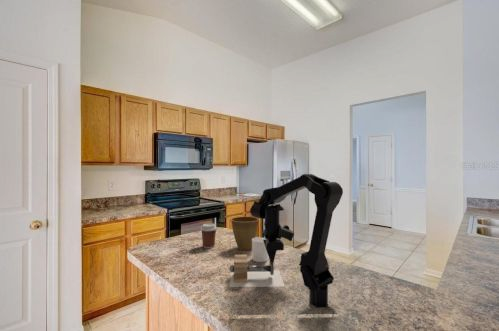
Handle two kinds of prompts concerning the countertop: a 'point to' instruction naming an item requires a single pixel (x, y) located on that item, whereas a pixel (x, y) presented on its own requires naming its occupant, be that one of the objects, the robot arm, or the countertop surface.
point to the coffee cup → (208, 235)
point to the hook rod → (257, 268)
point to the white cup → (259, 249)
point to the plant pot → (244, 231)
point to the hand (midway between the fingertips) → (271, 261)
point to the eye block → (240, 269)
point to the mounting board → (259, 280)
